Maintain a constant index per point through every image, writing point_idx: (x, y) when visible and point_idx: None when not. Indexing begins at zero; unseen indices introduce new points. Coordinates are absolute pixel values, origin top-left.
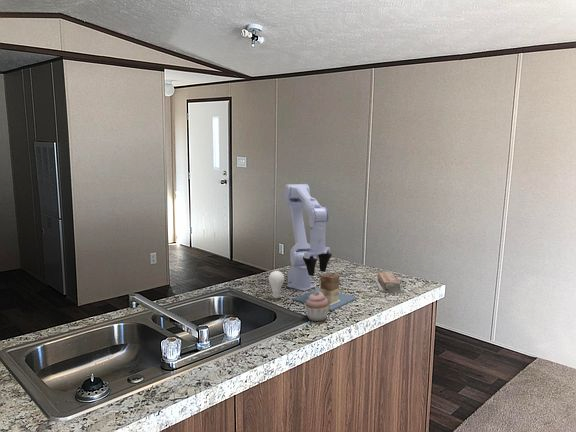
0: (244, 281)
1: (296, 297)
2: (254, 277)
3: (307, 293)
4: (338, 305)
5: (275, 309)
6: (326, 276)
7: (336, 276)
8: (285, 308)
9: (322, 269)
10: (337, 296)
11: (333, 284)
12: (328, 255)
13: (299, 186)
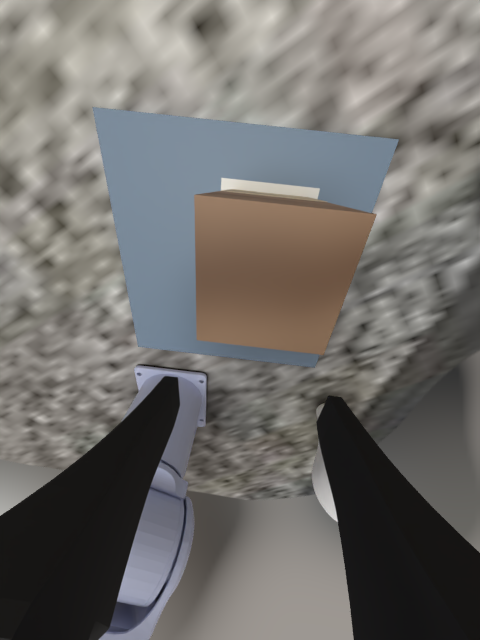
0: (241, 489)
1: (297, 363)
2: (200, 487)
3: (230, 353)
4: (304, 141)
5: (441, 365)
6: (323, 303)
7: (259, 202)
8: (419, 345)
9: (173, 405)
10: (239, 190)
11: (308, 202)
12: (30, 617)
13: None
